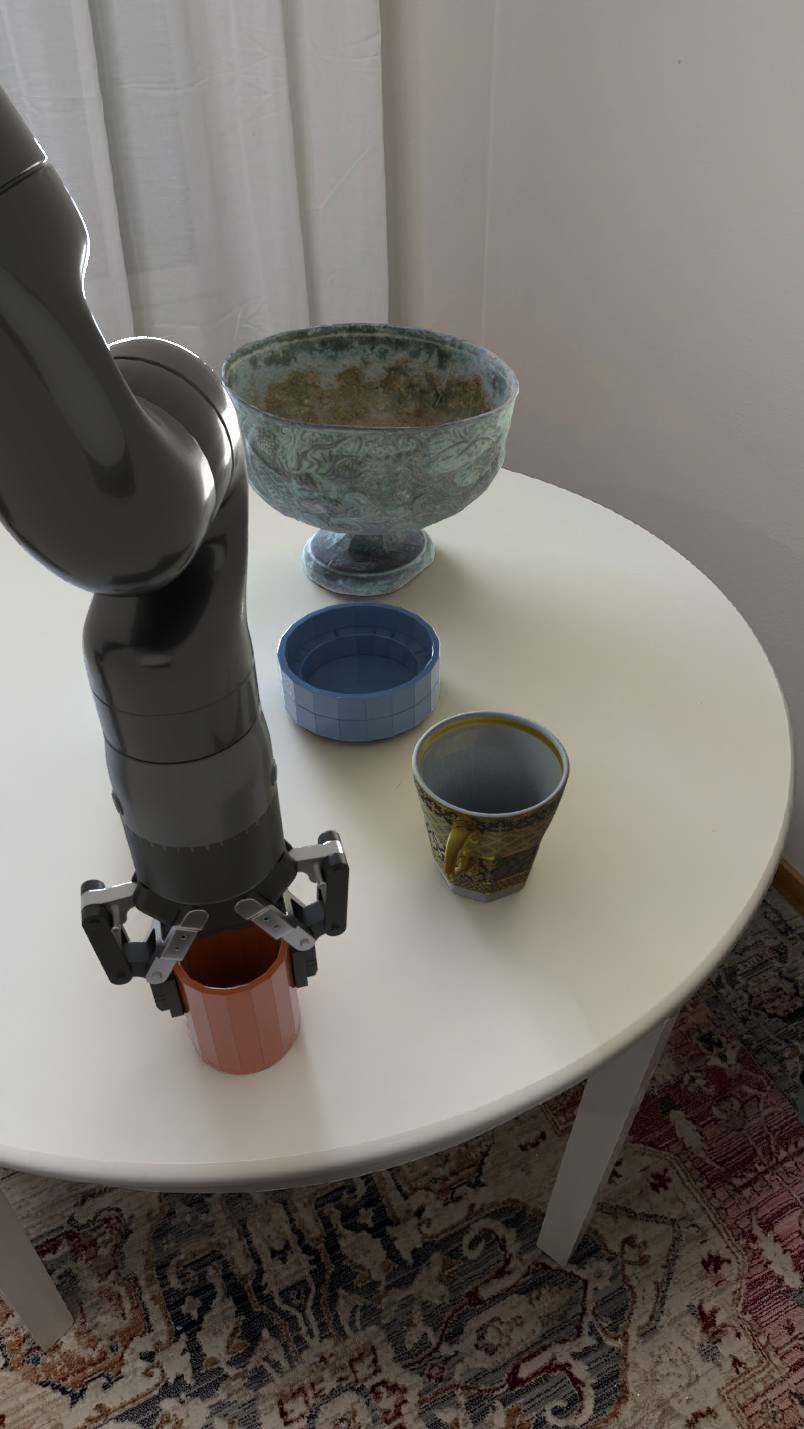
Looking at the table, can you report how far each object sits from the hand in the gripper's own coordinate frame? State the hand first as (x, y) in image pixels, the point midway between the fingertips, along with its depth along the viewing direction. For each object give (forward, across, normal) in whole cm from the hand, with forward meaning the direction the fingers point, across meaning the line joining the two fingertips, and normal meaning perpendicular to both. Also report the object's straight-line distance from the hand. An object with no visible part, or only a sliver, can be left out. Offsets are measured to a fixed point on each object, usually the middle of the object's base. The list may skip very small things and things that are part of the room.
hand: (238, 988), depth 58 cm
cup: (+4, 0, 0) cm, 4 cm away
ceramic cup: (+4, -17, -7) cm, 19 cm away
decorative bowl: (+4, -20, -50) cm, 54 cm away
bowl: (+4, -14, -29) cm, 32 cm away
